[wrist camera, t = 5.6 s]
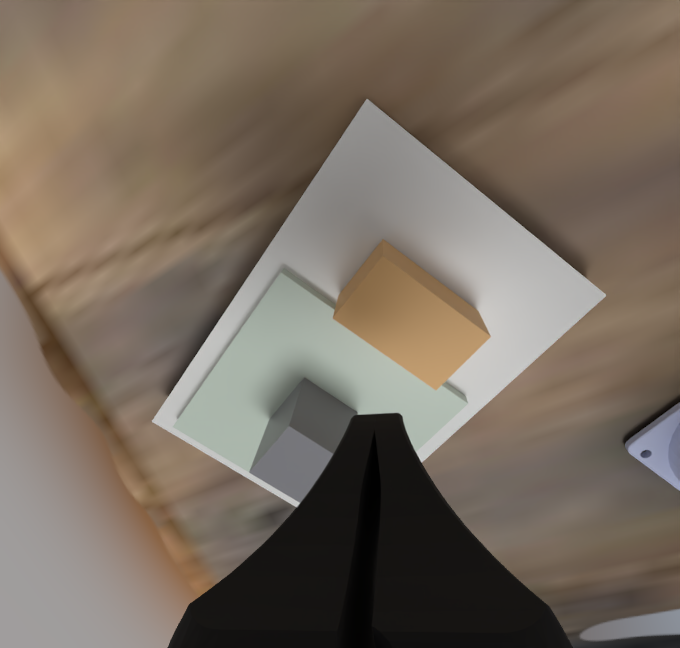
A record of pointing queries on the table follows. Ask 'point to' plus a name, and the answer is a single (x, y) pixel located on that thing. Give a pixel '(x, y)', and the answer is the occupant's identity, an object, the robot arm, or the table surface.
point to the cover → (303, 391)
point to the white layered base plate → (419, 246)
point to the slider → (410, 316)
